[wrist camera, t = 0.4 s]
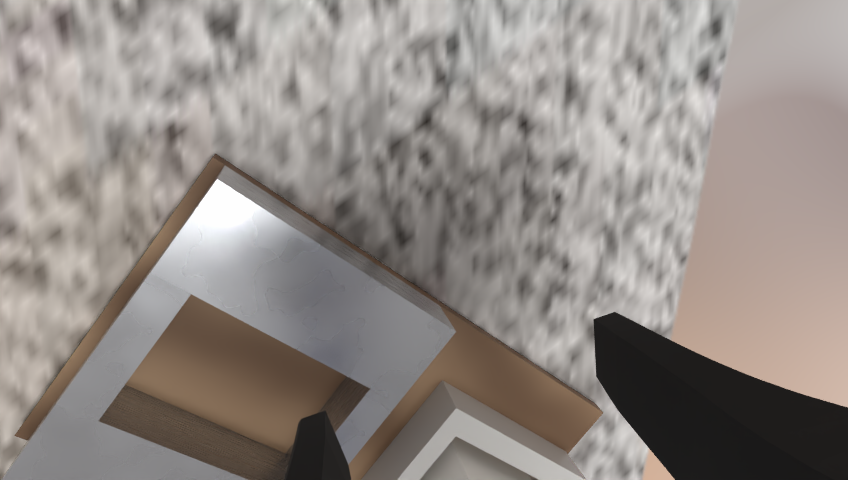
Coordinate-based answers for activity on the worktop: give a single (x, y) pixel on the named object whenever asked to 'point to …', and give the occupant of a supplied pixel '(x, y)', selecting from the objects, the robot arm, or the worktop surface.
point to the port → (257, 306)
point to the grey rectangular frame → (468, 440)
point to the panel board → (311, 367)
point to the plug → (470, 465)
